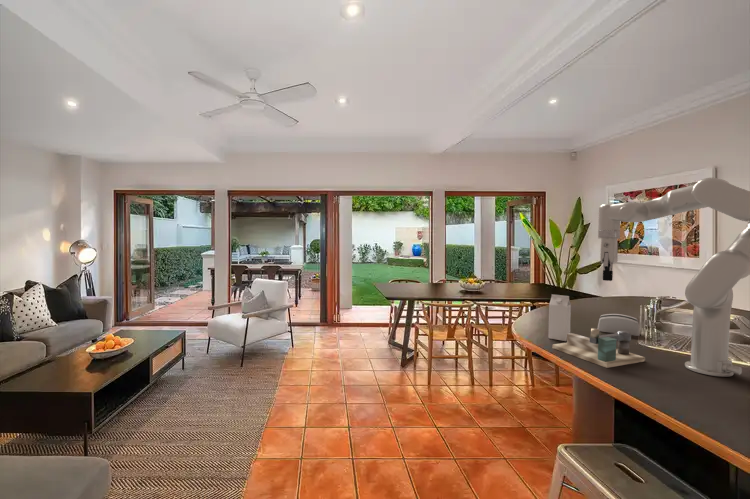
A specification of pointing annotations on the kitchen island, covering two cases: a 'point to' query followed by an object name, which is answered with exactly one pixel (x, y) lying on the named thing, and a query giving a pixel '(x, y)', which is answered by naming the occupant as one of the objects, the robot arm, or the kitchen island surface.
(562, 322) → the milk carton
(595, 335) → the swing bar
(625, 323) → the grey curved block
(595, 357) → the base
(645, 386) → the kitchen island surface
